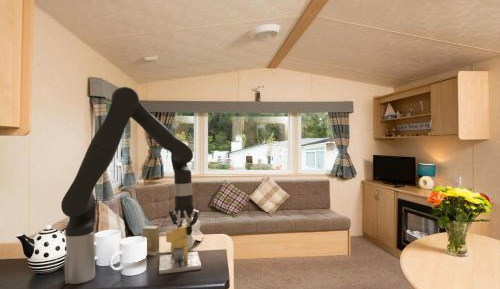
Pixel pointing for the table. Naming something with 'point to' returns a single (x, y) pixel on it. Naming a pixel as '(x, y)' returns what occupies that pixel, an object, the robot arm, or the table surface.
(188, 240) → the cherub figurine
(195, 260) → the post base
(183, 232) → the yellow irregular block
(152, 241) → the skincare box
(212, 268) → the table surface
